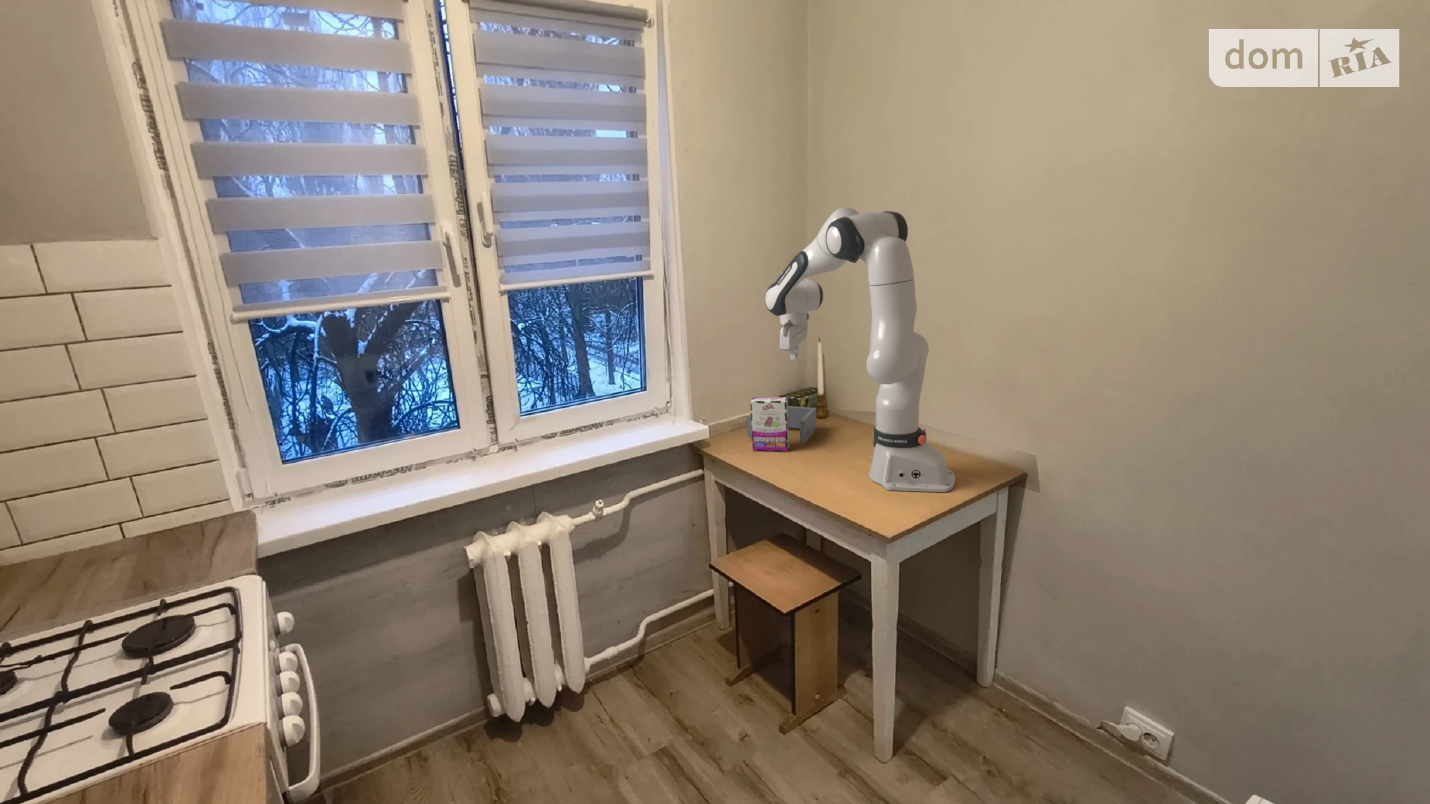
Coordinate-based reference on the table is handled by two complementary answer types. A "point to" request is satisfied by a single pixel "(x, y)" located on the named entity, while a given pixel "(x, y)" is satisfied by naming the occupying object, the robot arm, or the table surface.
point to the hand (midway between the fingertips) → (793, 358)
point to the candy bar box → (770, 424)
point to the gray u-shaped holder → (797, 421)
